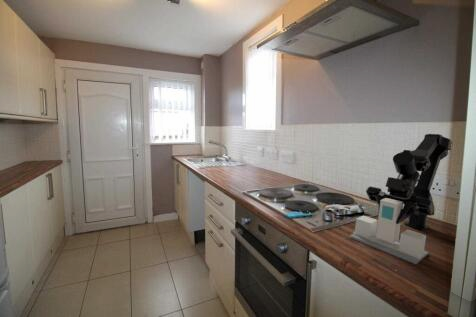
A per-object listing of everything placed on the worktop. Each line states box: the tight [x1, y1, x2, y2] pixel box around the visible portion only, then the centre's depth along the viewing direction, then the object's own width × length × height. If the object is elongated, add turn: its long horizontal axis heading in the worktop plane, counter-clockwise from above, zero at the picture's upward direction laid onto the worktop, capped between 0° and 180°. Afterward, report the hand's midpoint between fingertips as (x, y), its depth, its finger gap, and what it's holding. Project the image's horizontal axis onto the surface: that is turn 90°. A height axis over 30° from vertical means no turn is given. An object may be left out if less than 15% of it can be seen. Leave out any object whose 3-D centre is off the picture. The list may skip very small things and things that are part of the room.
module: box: [376, 198, 404, 243], centre depth 79 cm, size 5×5×13 cm
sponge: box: [283, 211, 313, 219], centre depth 105 cm, size 2×12×6 cm
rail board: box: [349, 215, 429, 265], centre depth 80 cm, size 10×20×7 cm, turn 37°
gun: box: [325, 204, 370, 213], centre depth 111 cm, size 18×3×10 cm
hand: (387, 220), depth 78 cm, fingers closed on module, 5 cm apart
